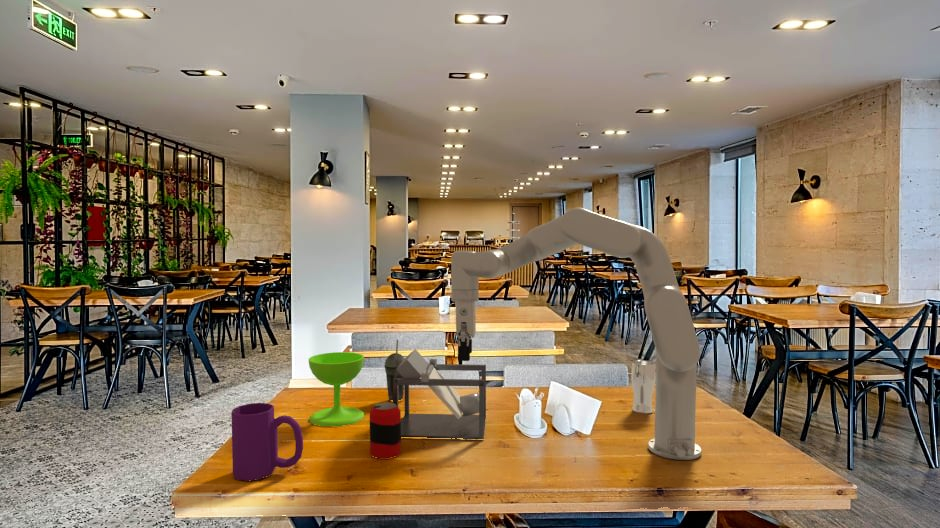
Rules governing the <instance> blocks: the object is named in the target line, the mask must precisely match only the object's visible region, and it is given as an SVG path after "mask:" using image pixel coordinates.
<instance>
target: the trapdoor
mask: <svg viewBox="0 0 940 528" xmlns="http://www.w3.org/2000/svg"><path fill="white" fill-rule="evenodd" d="M404 358H405V359H404V360H403V361H402V363H401V364H400V365H399V366H398V368H397V369H396V370H397V371H398V372H399V373H400V374H401V375H402V377H403V378H411V379H421V374H422V373H429V379H445V378H444V376H443V375H442V374H441V373H440V372H439V370H436V369H435V368H434V365H433V364H430V363H428V362H429V361H427V360H426V359H425V357H423V355H422V354H420V353H419V351H418V350H417V349H416V348H415V349H414V350H412V351H411V352H410V353H409V354H408V355H406V357H404ZM429 364H430V365H429ZM428 365H429V366H428ZM427 367H428V368H427ZM426 369H427V370H426ZM411 386H412V387H413V385H410V387H411ZM428 387H429V388H430V390H431V391H432V392H433V393H434V395H436V397H438V398H439V400H440V401H441V402H442V403H443V404H444V405H445V406H446V408H447V409H448V410H449V411H450V412H451V414H454V415H455V416H456V417H457V419H459V418H460V417H461V415H463V413H462V409H461V405H460V397H461V395H460V394H459V393H458V392H457V391H456V390H455V389H454V388H453V386H428Z"/></svg>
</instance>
